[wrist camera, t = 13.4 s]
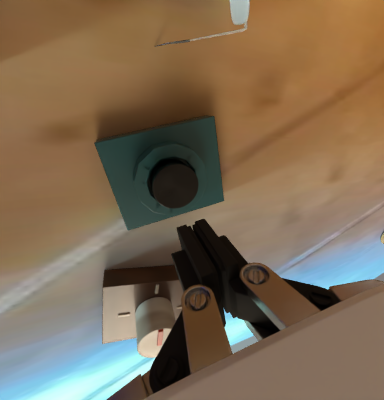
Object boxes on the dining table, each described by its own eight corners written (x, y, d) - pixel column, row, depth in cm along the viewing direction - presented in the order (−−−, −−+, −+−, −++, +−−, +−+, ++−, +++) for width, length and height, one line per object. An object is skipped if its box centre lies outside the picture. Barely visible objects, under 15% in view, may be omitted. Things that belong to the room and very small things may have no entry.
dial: (170, 320, 30) (178, 354, 26) (134, 326, 29) (136, 364, 24) (173, 294, 28) (182, 327, 24) (135, 299, 27) (138, 335, 23)
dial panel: (103, 323, 31) (102, 345, 28) (104, 269, 27) (102, 288, 24) (187, 311, 35) (193, 328, 32) (197, 263, 31) (205, 278, 29)
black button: (156, 205, 22) (159, 214, 20) (144, 165, 20) (146, 171, 18) (195, 194, 23) (201, 201, 21) (188, 154, 21) (194, 159, 19)
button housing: (127, 222, 25) (128, 240, 22) (96, 139, 21) (91, 146, 17) (217, 195, 28) (231, 207, 24) (207, 115, 23) (222, 116, 20)
